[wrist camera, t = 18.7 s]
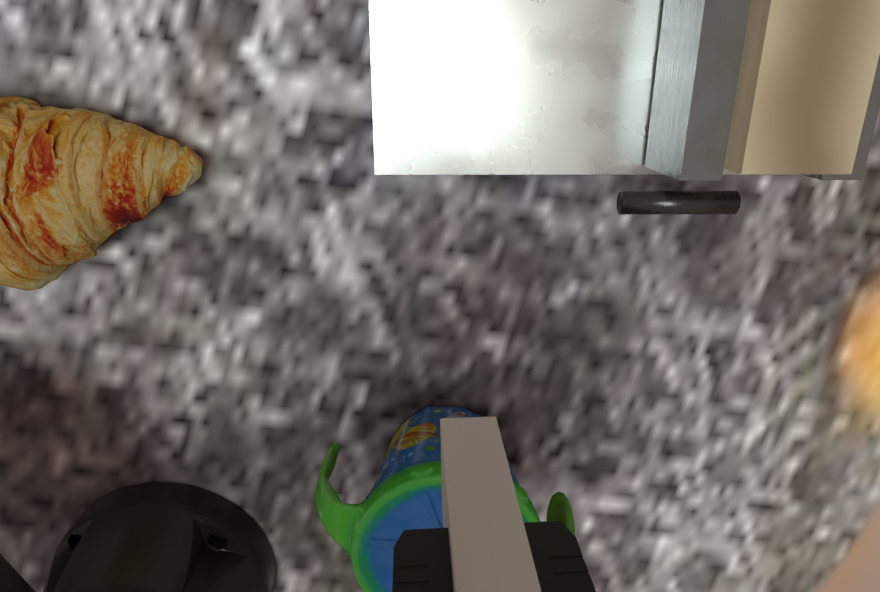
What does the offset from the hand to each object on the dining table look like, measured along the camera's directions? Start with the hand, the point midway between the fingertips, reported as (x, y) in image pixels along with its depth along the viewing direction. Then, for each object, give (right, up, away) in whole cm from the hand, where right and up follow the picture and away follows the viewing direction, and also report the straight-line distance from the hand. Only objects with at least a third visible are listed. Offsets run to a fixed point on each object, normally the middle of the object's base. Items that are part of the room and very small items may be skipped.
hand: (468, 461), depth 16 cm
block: (+15, +16, +16) cm, 27 cm away
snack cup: (-1, -6, +25) cm, 26 cm away
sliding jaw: (+12, +15, +16) cm, 25 cm away
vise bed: (+8, +17, +17) cm, 25 cm away
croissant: (-24, +11, +19) cm, 33 cm away
